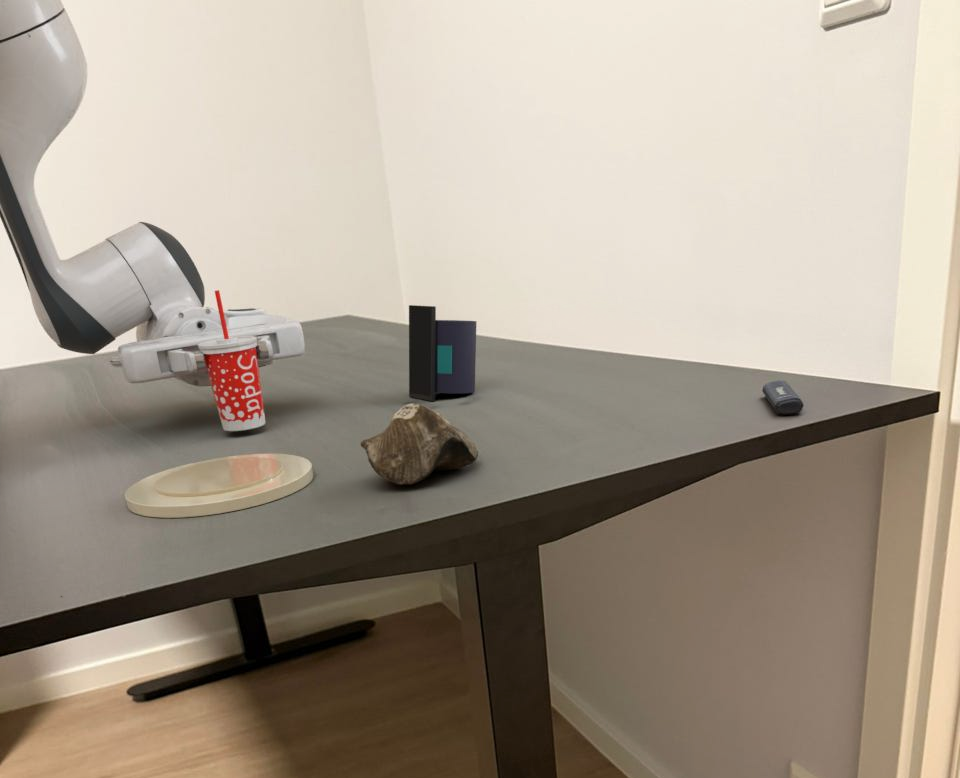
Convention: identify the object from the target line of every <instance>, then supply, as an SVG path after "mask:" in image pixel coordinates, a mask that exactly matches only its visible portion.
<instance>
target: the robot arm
mask: <svg viewBox="0 0 960 778" xmlns="http://www.w3.org/2000/svg"><path fill="white" fill-rule="evenodd" d="M87 62H88V61H87V59H86V56H85V52H84V49H83V47H82V44H81V42H80V39H79V36H78V34H77V32H76V29H75V27H74V25H73V23H72V21H71V19H70V16H69V15H68V12H67V11H66V9H65V7H64V5H63V2H62V1H61V0H0V221H1V223H2V225H3V228H4V230H5V232H6V235H7V237H8V239H9V242H10V244H11V247H12V249H13V251H14V254H15V256H16V259H17V261H18V264H19V267H20V269H21V272H22V274H23V277H24V281H25V283H26V286H27V288H28V291H29V292H28V293H29V295H30V298H31V303H32V307H33V310H34V312H35V315H36V318H37V320H38V322H39V323H40V325H41V327H42V328H43V330H44V332H45V333H46V334H47V336H48V337H49V338H50V339H51V340H52V341H53V342H54V343H55V344H56V345H57V346H58V347H59V348H60V349H63V350H66V351H69V352H73V353H79V354H84V355H85V354H86V355H95V354H97V353H98V352H99V351H101V350H102V349H104V348H105V347H107V346H108V345H110V344H111V343H113V342H114V341H116V339H117V338H118V337H120V336H122V335H123V334H126V333H127V332H129V331H131V330H133V329H135V328H136V329H135V330H136V331H135V339H136V341H132V342H128V343H124V344H121V345H119V346H118V348H117V352H118V356H113V357H110V358H109V360H110V361H109V363H110V365H111V366H112V367H114V368H121V369H122V373H123V377H124V378H125V380H126V382H128V383H130V384H142V383H150V382H155V381H161V380H167V379H172V378H174V379H176V380H178V381H181V382H183V383H186V384H189V385H191V386H195V387H202V388H203V387H211V383H210V380H209V376H208V373H207V369H206V364H205V362H204V355H203V353H202V352H200V349H199V348H198V344H200V343H203V342H207V341H212V340H217V339H221V338H224V334H223V330H222V325H221V320H220V315H219V310H218V308H216V307H210V306H207V307H206V306H205V301H206V294H205V292H206V291H205V285H204V282H203V279H202V277H201V275H200V272H199V270H198V268H197V266H196V264H195V262H194V261H193V259H192V258H191V256H190V254H189V253H188V251H187V250H186V249H185V247H184V246H183V244H182V243H181V242H180V241H179V240H178V239H177V238H176V237H175V236H174V235H173V234H171V233H170V232H168V231H166V230H164V229H162V228H161V227H158V226H156V225H155V224H152V223H148V222H145V221H139V222H137V223H135V224H133V225H130V226H129V227H126V228H125V229H124V228H123V229H122V230H120V231H118V232H116V233H115V234H112V235H111V236H109V237H106V238H105V239H104V240H103V241H101V242H99V243H97V244H95V245H92V246H91V247H89V248H87V249H85V250H82V251H81V252H79V253H77V254H75V255H73V256H71V257H69V258H67V259H61V258H60V256H59V253H58V251H57V249H56V246H55V244H54V243H55V242H54V241H53V238H52V235H51V233H50V230H49V228H48V225H47V223H46V220H45V217H44V215H43V214H44V213H43V212H42V209H41V207H40V204H39V201H38V199H37V195H36V191H35V178H36V177H35V175H36V172H37V168H38V166H39V164H40V162H41V160H42V158H43V157H44V155H45V154H46V152H47V150H48V149H49V148H50V146H51V145H52V144H53V142H54V141H56V139H57V138H58V137H59V135H60V134H62V132H63V131H64V129H65V128H66V127H68V125H69V124H70V123H71V121H72V120H73V118H74V117H75V115H76V114H77V111H78V110H79V108H80V106H81V103H82V102H83V99H84V96H85V93H86V88H87V83H88V63H87ZM223 311H224V316H225V321H226V326H227V331H228V336H229V337H243V336H254V337H257V341H256V342H257V346H256V354H257V361H258V369H260V368H262V367H266V366H270V365H273V364H274V363H275V362H276V361H277V360H282V359H288V358H297V357H301V356H303V355H304V354H305V352H306V343H305V336H304V332H303V327H302V325H301V323H300V322H299V321H298V320H296V319H293V318H290V317H287V316H282V315H278V314H268V313H267V310H266V309H265V308H260V307H259V308H253V307H251V308H238V309H237V308H235V309H234V308H233V309H223Z"/></svg>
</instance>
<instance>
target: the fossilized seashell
mask: <svg viewBox="0 0 960 778" xmlns="http://www.w3.org/2000/svg"><path fill="white" fill-rule="evenodd" d="M360 447H361V448H362V449H364V450H365V452H366V455H367V460H368V462H369V464H370V466H371V468H372V469H373V470H374V472H375V473H376V474H377V475H378V476H379V477H381V478H383V479H385V480H387V481H388V482H391V483H393V484H395V485H413V484H416V483H418V482H420V481H422V480H425V478H428V477H429V476H430V475H431V474H432V472H434V471H448V470H455V469H463V468H465V467H468V466H470V465H472V464H473V463H474V462H475V461H476V460H477V459H478V456H479V451H478V450H477V447H476V444H475V442H473V440H472V438H470V436H469V435H467V434H466V432H463V431H462V430H460V429H459V428H457V427H456V426H454V425H453V424H452V422H450V421H449V420H448V419H447V418H446V416H445V414H444V413H442V412H439V411H434V410H433V409H431V408H430V407H428V406H425V405H421V404H419V403H408V404H405V405H403V406H402V407H401V408H400V409H399V410H398V411H396V412H395V413H394V414H393V417H392V418H391V420H390V423H389V424H388V426H387V427H386V428H385V429H384V430H383V431H382V432H381V433H379V434H377V435H374V436H372V437H369V438H367V439H362V440H361V441H360Z"/></svg>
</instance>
